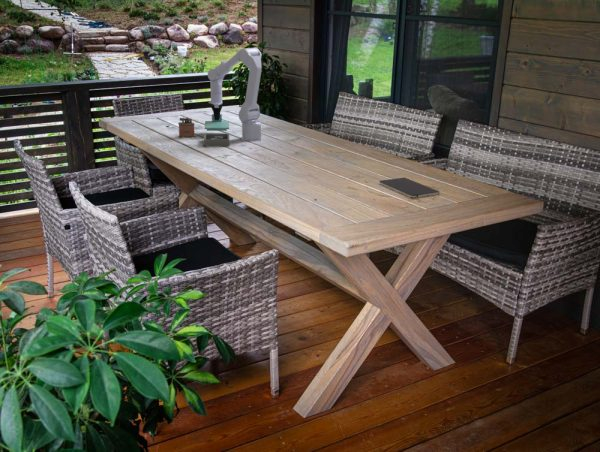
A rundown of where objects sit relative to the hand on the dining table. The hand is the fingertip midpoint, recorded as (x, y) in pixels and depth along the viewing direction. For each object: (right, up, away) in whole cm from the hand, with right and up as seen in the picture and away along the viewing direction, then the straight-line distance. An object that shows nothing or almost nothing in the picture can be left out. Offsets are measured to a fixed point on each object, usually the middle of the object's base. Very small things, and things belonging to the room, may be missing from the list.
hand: (217, 119), depth 329 cm
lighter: (-14, -11, -9) cm, 20 cm away
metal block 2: (+3, -14, -18) cm, 23 cm away
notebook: (+84, -41, -85) cm, 126 cm away
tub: (+3, -15, -20) cm, 25 cm away
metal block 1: (+2, -15, -23) cm, 28 cm away
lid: (+1, -4, -5) cm, 7 cm away
